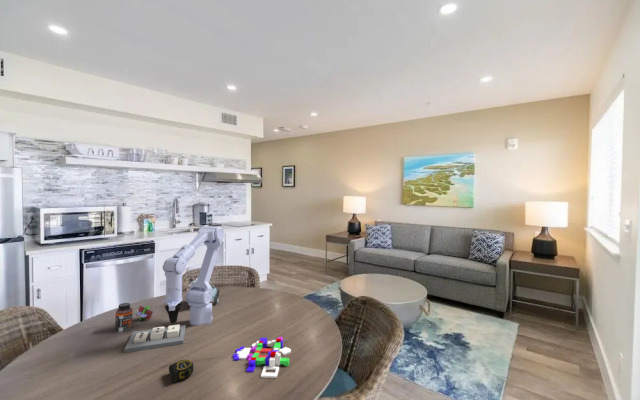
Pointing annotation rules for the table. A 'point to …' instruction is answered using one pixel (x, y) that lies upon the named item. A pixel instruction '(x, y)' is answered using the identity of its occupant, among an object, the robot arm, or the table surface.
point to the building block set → (264, 356)
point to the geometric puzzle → (144, 312)
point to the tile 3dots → (141, 337)
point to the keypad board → (154, 341)
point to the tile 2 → (173, 331)
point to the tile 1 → (157, 333)
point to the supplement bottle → (123, 317)
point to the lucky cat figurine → (214, 292)
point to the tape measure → (181, 370)
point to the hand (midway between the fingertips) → (173, 322)
